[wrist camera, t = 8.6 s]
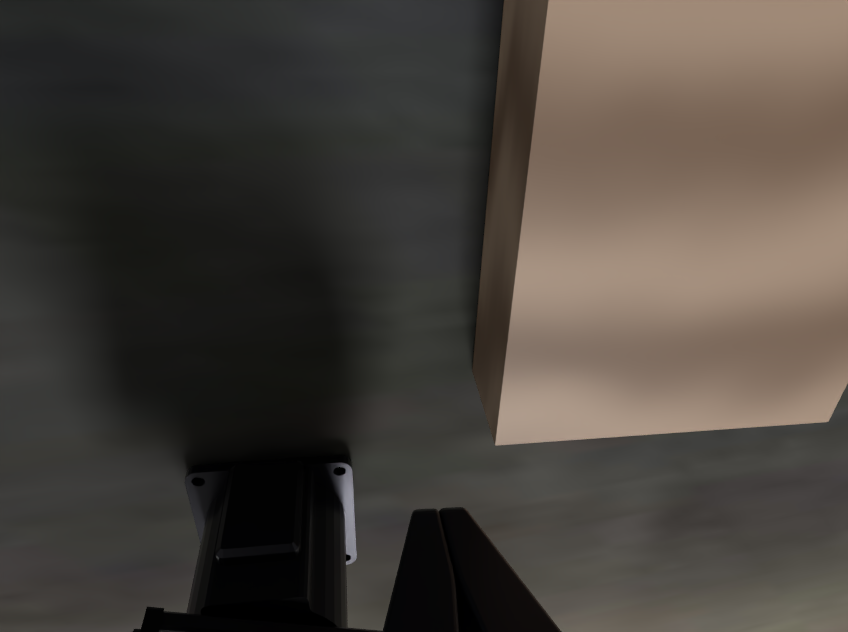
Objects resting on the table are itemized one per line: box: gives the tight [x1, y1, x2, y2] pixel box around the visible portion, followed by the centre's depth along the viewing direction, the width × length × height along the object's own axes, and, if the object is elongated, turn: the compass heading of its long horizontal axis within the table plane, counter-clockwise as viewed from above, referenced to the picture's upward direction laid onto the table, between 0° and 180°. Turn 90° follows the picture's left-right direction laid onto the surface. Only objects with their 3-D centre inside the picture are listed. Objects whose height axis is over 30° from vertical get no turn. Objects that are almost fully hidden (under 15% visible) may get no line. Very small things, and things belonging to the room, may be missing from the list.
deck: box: [472, 0, 848, 445], centre depth 18 cm, size 20×12×4 cm, turn 178°
